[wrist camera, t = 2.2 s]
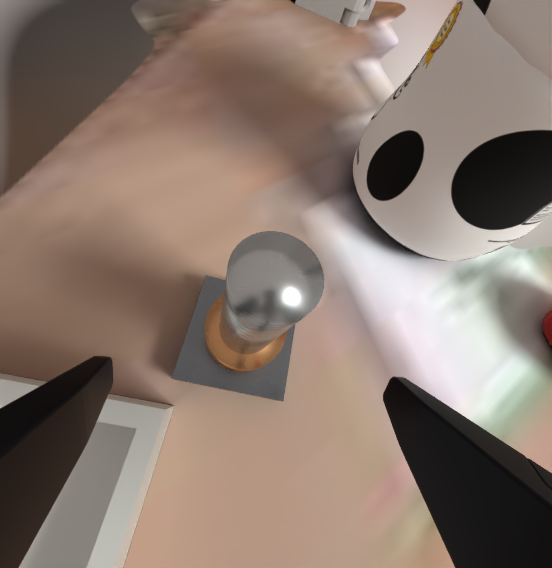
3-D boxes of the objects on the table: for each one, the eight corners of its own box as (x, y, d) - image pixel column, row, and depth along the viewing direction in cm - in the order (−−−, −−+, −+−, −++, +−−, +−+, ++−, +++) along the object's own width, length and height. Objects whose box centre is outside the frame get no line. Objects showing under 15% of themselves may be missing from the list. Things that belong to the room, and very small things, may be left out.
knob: (269, 379, 17) (340, 365, 8) (195, 363, 16) (177, 327, 7) (282, 310, 19) (350, 234, 10) (217, 293, 18) (224, 195, 9)
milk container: (359, 124, 32) (513, -147, 16) (479, 186, 33) (737, -10, 17) (319, 224, 24) (535, -100, 8) (476, 301, 25) (941, 146, 9)
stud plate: (277, 400, 18) (283, 401, 16) (174, 379, 17) (171, 378, 15) (292, 305, 21) (298, 300, 19) (206, 283, 20) (205, 275, 18)
